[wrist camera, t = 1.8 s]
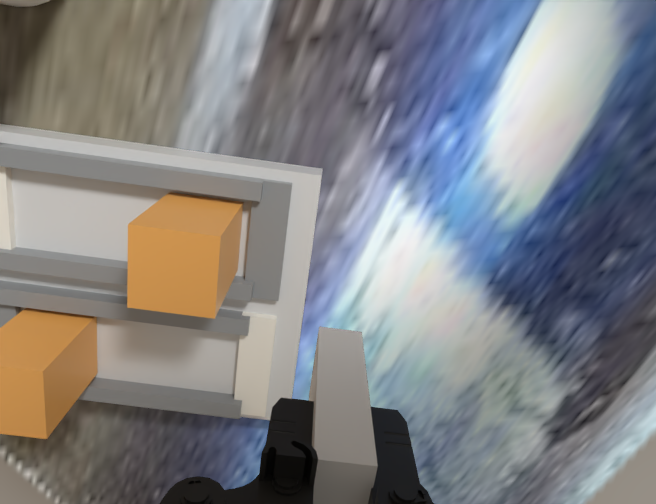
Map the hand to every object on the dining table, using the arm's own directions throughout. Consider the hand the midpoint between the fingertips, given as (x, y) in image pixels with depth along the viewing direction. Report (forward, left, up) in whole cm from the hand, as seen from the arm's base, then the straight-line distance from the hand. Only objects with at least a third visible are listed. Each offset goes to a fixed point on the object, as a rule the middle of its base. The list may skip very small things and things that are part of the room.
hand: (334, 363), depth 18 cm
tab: (+15, +8, -11) cm, 21 cm away
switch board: (+12, +4, -13) cm, 19 cm away
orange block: (+7, 0, -11) cm, 13 cm away
